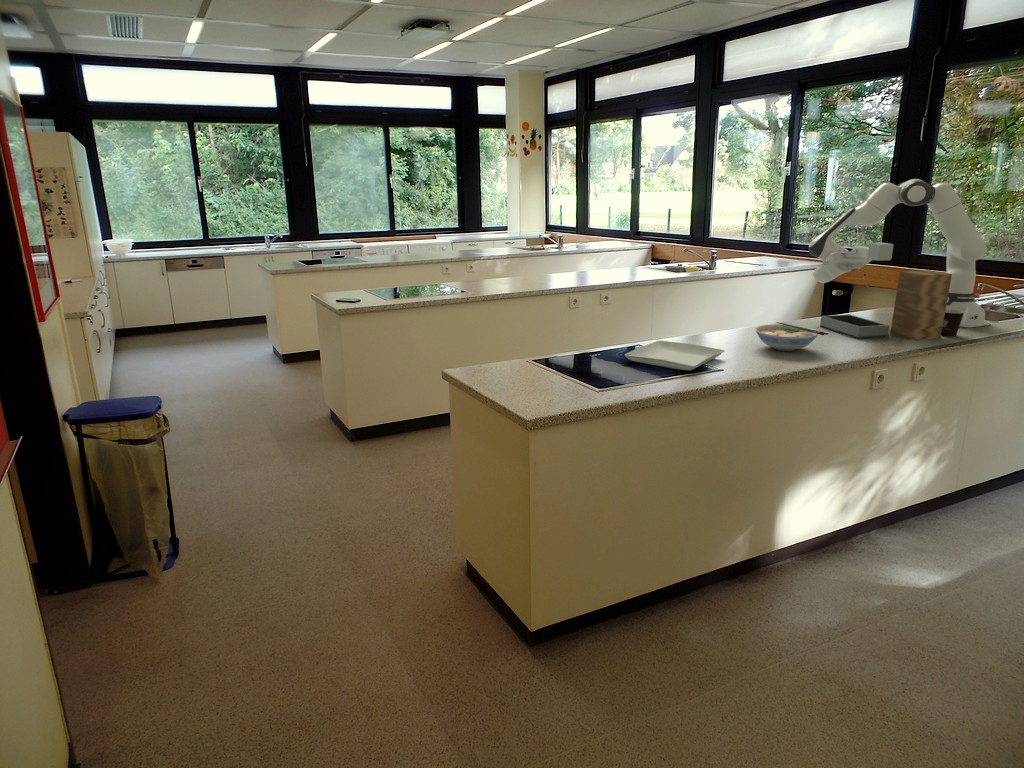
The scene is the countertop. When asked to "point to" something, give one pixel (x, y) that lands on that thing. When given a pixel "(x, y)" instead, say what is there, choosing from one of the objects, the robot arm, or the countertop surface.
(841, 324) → the grey rectangular tray
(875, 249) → the white long block
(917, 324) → the walnut block
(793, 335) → the ramen bowl
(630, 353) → the square plate
